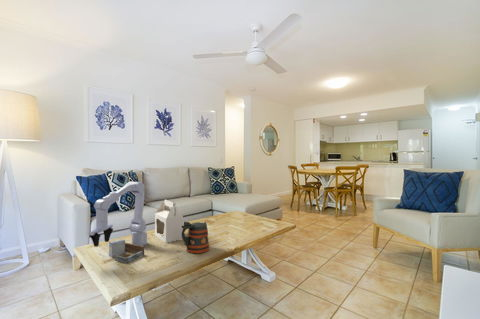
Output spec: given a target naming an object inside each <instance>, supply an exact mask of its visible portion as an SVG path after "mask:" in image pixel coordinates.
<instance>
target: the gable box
mask: <svg viewBox="0 0 480 319" xmlns="http://www.w3.org/2000/svg"><path fill="white" fill-rule="evenodd" d="M180 211H181V210H179V208H178V207H177V206H176V202H174V201H173V200H169V199H164V201H163V203H161V204H160V206H159V208H158V209H157V210H156V212H155V214H154V217H155V218H154V236H155V237H156V236H157V237H156V238H158V239H159V240H161V241H162V242H163V243H165V244H169V243H173V242H172V241H174V242H177V241H176V240H178V241H181V240H180V239H182V230H183V228H182V226H184V215H183V214H182V212H180ZM163 233H164V237H163V236H162V235H161V234H163ZM182 240H183V239H182ZM168 242H169V243H168Z"/></svg>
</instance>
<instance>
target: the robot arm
mask: <svg viewBox="0 0 480 319" xmlns="http://www.w3.org/2000/svg"><path fill="white" fill-rule="evenodd" d="M128 192H131V193H133V195H135V201H134V202H135V203H134V212H133V218H132V219H131V220H130V223H129V227H128V228H129V229H128V230H129V231H130V233H131V244H135V245H140V246H145V245H147V244H148V234H147V231H146V230H147V225H146V220H145V219H144V218H143V216H144V214H143V213H144V204H145V194H146V193H145V184H144V183H143V182H141V181H128V182H127V183H125V185H123V186H122V187H121V188H119V189H118V190H116V191H112V192H109V194H108V195H105V196H103V197H102V199H97V200H96V201H95V202H94V204H93V208H94V209H95V212H96V213H95V217H96V218H95V227H94V229H92V230H90V231H89V237H90V238H91V241H92V242H93V246H94V247H95V248H98V247H99V245H100V238H101V236H102V234H100V233H102V232H103V237H104V242H106V243H107V242H108V243H109V242H110V238H111V234H112V233H113V231H114V229H113V226H114V225H113V224H109V223H108V222H109V220H108V219H109V218H108V216H109V214H108V212H109V209H110V207H111V206H112V205H113V204H114V203H117V201H119V199H120V197H122V196H123V195H125V194H127V193H128Z"/></svg>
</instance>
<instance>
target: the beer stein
mask: <svg viewBox="0 0 480 319" xmlns="http://www.w3.org/2000/svg"><path fill="white" fill-rule="evenodd" d="M182 228H183V230H182V241H183V242H184V246H185V247H186V251H187V252H188V253H190V254H196V253H197V254H202V253H206V252H208V251H209V250H210V246H209V245H210V242H209V232H208V225H207V222H206V221H205V222H193V223H190V222H188V221H183V226H182ZM187 230H188V232H187V236H186V235H185V232H186V231H187Z"/></svg>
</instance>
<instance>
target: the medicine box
mask: <svg viewBox="0 0 480 319" xmlns="http://www.w3.org/2000/svg"><path fill="white" fill-rule="evenodd" d="M125 242H126V240H125V239H124V238H119V239H118V238H117V239H114V240H111V241H109V242H108V256H109V257H110V258H115V256H116V255H118V256H122V255H124V254H126V252H125Z"/></svg>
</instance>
